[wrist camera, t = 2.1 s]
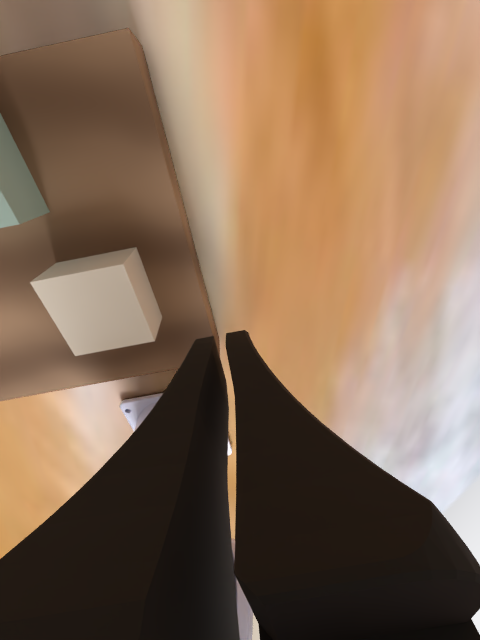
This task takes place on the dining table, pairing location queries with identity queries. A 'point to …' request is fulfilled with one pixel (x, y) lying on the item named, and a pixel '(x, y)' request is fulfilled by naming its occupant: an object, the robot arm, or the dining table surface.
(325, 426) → the robot arm
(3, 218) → the grey-green block
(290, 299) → the dining table surface
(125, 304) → the tile
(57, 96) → the board
